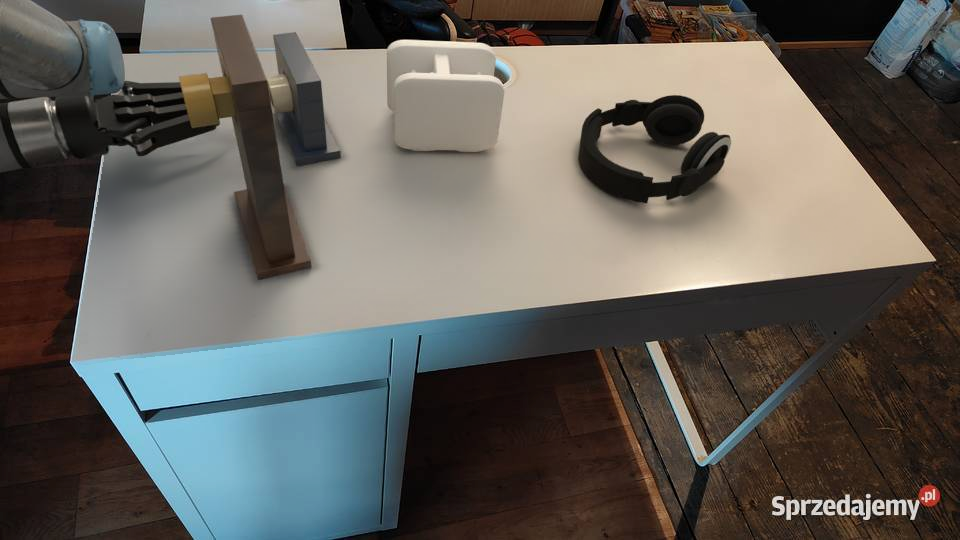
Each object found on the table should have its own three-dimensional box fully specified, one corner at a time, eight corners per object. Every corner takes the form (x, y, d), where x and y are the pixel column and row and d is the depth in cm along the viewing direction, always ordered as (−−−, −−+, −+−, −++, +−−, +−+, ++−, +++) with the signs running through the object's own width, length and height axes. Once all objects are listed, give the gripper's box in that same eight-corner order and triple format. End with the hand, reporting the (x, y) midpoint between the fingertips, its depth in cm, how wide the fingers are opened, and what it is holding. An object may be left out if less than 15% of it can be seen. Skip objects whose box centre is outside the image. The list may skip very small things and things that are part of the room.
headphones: (760, 146, 86) (622, 183, 81) (742, 191, 92) (613, 227, 87) (687, 73, 97) (562, 102, 92) (675, 118, 103) (557, 147, 98)
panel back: (296, 166, 87) (286, 90, 78) (271, 106, 95) (259, 32, 86) (340, 157, 89) (335, 82, 80) (312, 100, 97) (305, 26, 88)
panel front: (257, 280, 73) (215, 93, 56) (235, 198, 82) (192, 14, 64) (311, 267, 75) (287, 83, 58) (284, 189, 84) (255, 7, 66)
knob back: (276, 121, 86) (271, 89, 83) (267, 101, 89) (262, 69, 85) (325, 113, 88) (322, 81, 85) (315, 93, 91) (312, 62, 88)
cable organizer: (387, 153, 90) (387, 78, 82) (387, 108, 97) (386, 35, 89) (495, 155, 93) (506, 82, 84) (487, 111, 99) (496, 39, 91)
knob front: (194, 138, 63) (182, 94, 59) (187, 109, 66) (176, 66, 62) (264, 127, 65) (256, 84, 62) (254, 99, 68) (247, 57, 64)
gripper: (71, 123, 84) (260, 93, 92) (79, 187, 76) (284, 148, 85) (48, 70, 78) (252, 43, 87) (54, 134, 71) (276, 98, 79)
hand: (267, 95), depth 86 cm, fingers closed
